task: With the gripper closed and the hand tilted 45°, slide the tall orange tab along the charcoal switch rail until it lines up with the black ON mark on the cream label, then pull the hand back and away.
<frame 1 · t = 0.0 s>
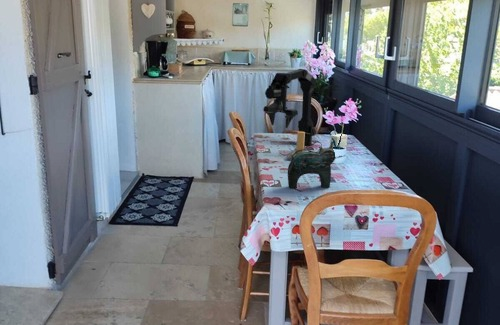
hand: (279, 126, 239), 15 cm above the table, tool pointing down, fingers open, 9 cm apart
ink box: (337, 156, 241), on the table
switch tab: (300, 142, 237), point 7 cm above the table, slide at 0.0 cm
switch housing: (298, 157, 237), on the table
dark green animal figurine: (310, 187, 191), on the table
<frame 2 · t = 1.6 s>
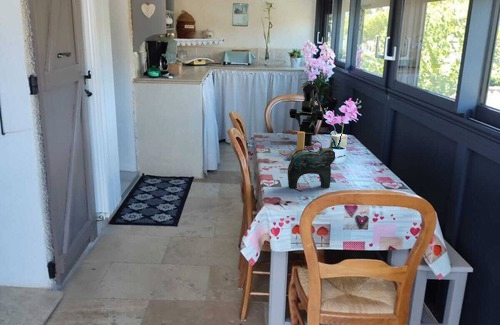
hand: (304, 126, 246), 14 cm above the table, tool tilted 45°, fingers open, 5 cm apart
nothing on the table moved.
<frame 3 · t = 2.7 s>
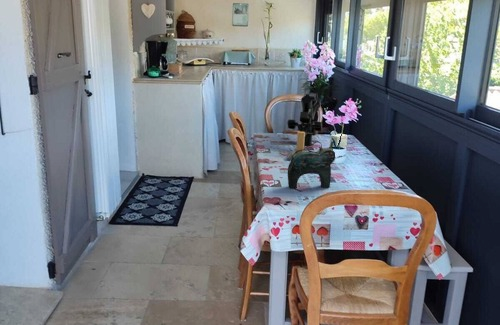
hand: (302, 138, 243), 8 cm above the table, tool tilted 45°, fingers closed
nothing on the table moved.
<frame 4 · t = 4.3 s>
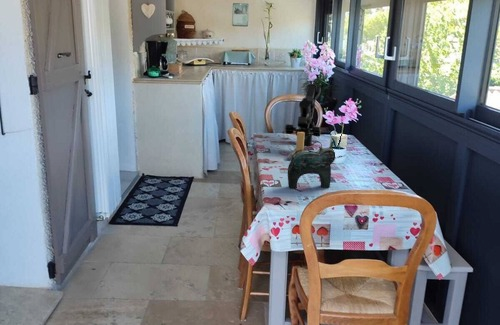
hand: (300, 143, 238), 7 cm above the table, tool tilted 45°, fingers closed, pressing on switch tab
switch tab: (300, 143, 236), point 7 cm above the table, slide at 1.2 cm, touching gripper
everything else where it was.
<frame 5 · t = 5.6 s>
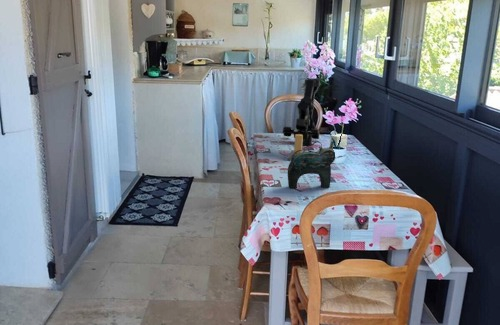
hand: (298, 146, 232), 7 cm above the table, tool tilted 45°, fingers closed, pressing on switch tab
switch tab: (298, 145, 230), point 7 cm above the table, slide at 7.5 cm, touching gripper
everything else where it was.
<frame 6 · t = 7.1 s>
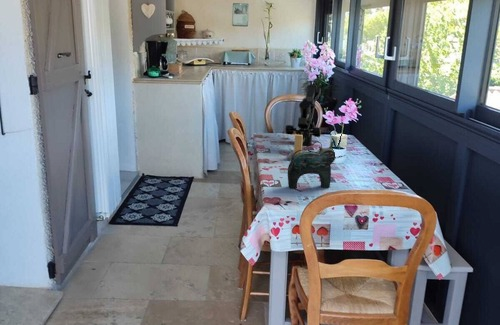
hand: (300, 144, 239), 6 cm above the table, tool tilted 45°, fingers closed
switch tab: (298, 146, 230), point 7 cm above the table, slide at 7.8 cm
everything else where it was.
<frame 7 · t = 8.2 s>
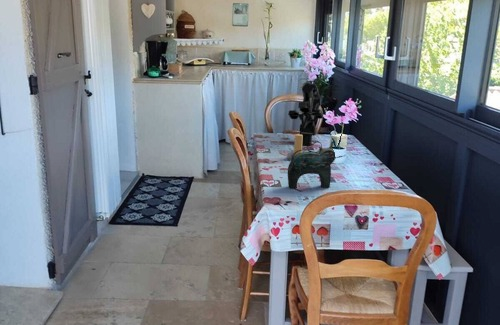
hand: (303, 127, 245), 13 cm above the table, tool tilted 40°, fingers closed
nothing on the table moved.
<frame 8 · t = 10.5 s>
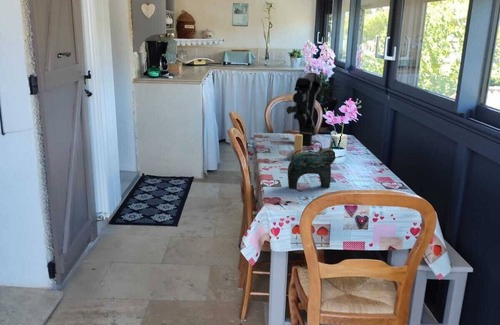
hand: (300, 129, 247), 12 cm above the table, tool pointing down, fingers closed
nothing on the table moved.
at the end: switch tab slide at 7.8 cm; ink box moved 0.2 cm from its start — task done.
